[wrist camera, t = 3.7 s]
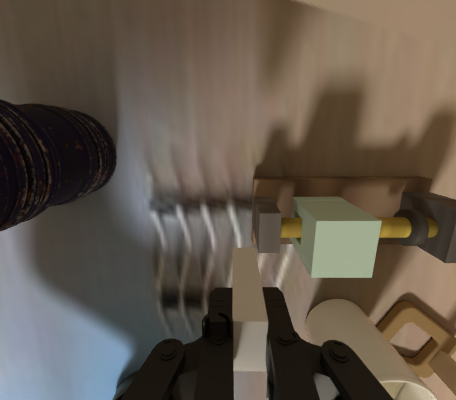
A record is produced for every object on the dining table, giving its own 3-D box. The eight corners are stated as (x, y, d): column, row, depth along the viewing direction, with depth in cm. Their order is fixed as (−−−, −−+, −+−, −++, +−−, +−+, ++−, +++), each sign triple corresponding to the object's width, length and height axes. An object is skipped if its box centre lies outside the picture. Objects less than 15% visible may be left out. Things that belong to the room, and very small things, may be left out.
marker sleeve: (289, 239, 27) (311, 277, 20) (292, 196, 26) (316, 221, 18) (334, 239, 27) (371, 277, 20) (339, 196, 25) (381, 220, 18)
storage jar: (131, 177, 29) (32, 221, 14) (62, 205, 30) (-96, 271, 15) (91, 94, 26) (-79, 46, 12) (16, 127, 27) (-221, 120, 13)
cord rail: (251, 238, 31) (259, 277, 22) (253, 177, 29) (261, 195, 20) (408, 238, 30) (474, 277, 22) (421, 176, 28) (499, 194, 20)
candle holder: (367, 287, 32) (443, 373, 21) (370, 344, 35) (439, 448, 23) (295, 298, 33) (330, 387, 21) (303, 353, 36) (338, 459, 24)
